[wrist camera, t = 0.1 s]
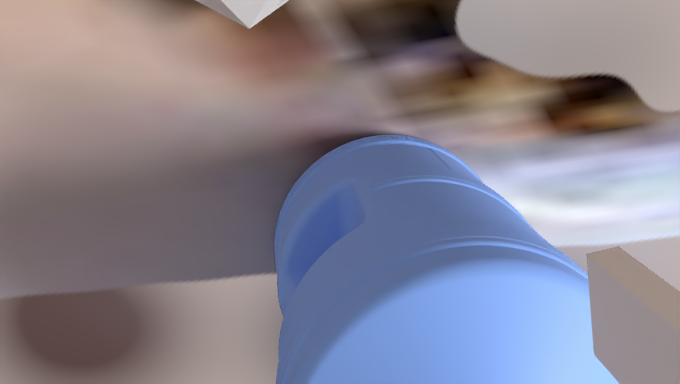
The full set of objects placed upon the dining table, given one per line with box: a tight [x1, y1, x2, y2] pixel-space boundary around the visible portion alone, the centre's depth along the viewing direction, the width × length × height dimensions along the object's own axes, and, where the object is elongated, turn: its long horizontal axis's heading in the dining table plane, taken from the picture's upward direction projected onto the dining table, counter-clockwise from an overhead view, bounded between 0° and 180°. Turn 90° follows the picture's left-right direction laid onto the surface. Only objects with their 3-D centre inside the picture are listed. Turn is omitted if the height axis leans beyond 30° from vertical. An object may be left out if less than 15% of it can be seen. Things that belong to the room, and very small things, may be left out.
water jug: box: [275, 135, 619, 384], centre depth 30 cm, size 16×16×28 cm
